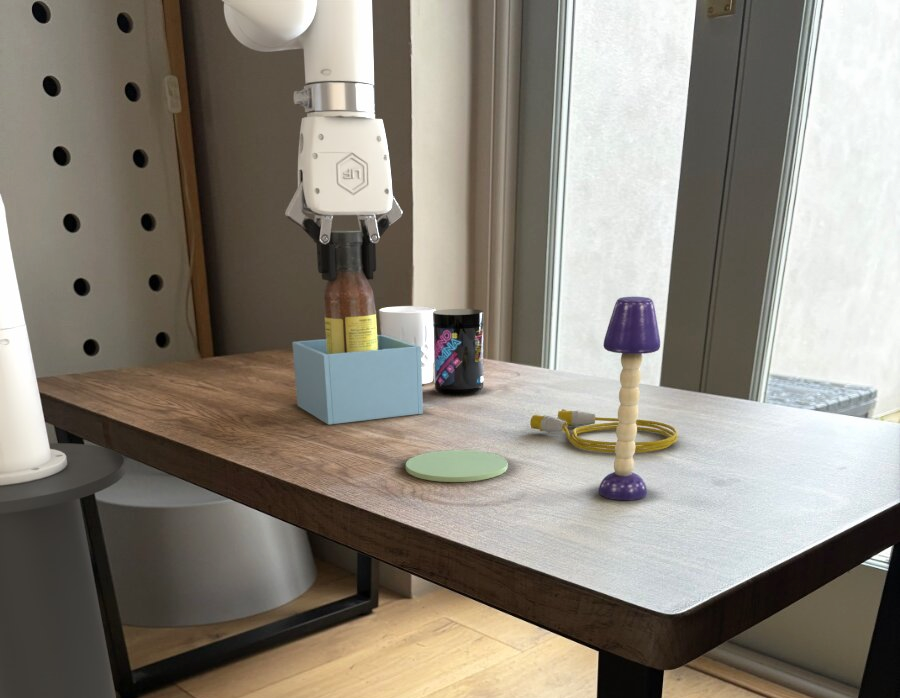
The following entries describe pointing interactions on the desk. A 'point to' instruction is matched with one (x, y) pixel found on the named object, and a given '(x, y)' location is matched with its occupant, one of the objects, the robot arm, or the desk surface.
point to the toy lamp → (629, 388)
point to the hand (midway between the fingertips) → (347, 277)
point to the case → (358, 381)
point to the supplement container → (458, 351)
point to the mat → (456, 465)
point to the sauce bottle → (349, 299)
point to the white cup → (412, 331)
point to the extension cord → (587, 418)
